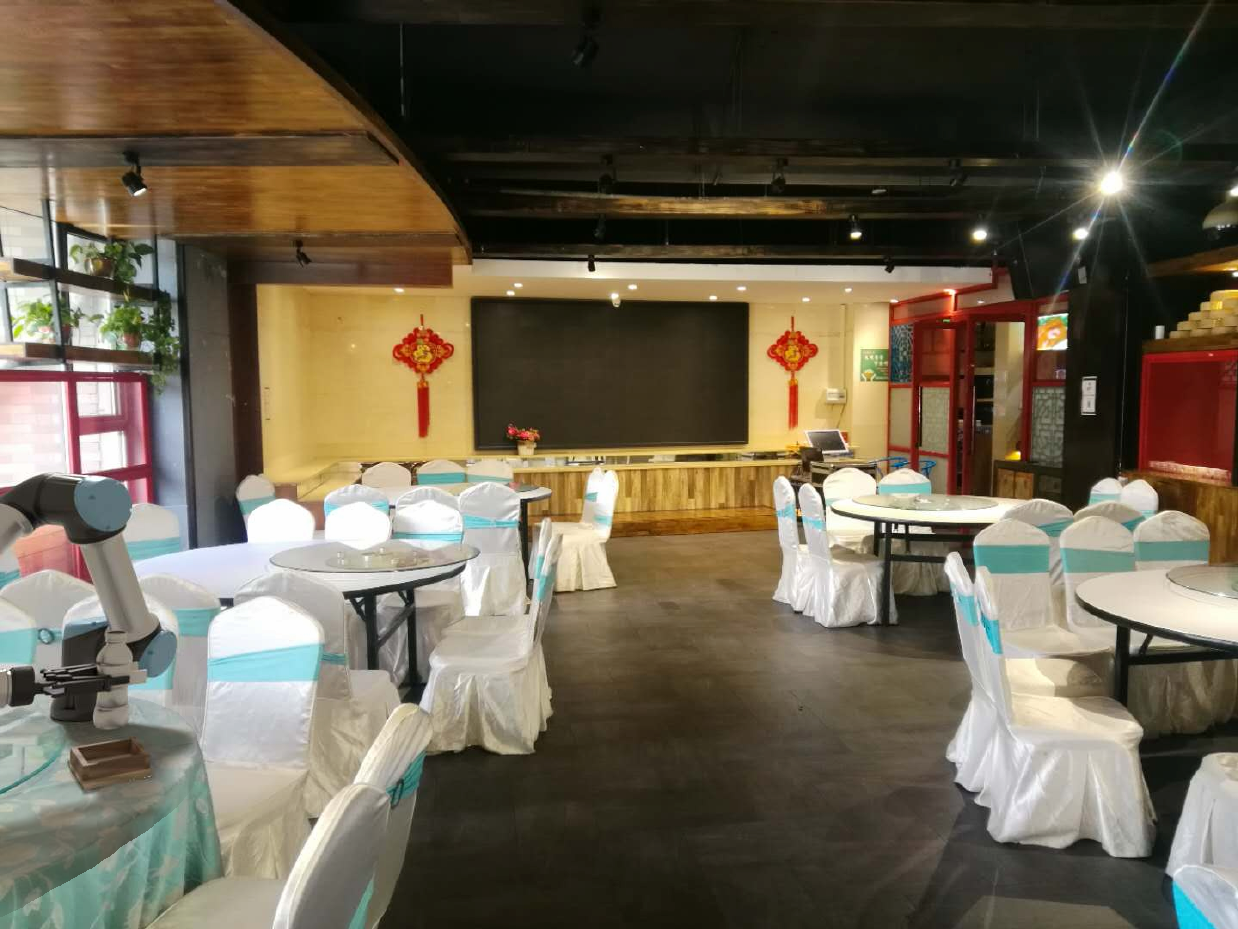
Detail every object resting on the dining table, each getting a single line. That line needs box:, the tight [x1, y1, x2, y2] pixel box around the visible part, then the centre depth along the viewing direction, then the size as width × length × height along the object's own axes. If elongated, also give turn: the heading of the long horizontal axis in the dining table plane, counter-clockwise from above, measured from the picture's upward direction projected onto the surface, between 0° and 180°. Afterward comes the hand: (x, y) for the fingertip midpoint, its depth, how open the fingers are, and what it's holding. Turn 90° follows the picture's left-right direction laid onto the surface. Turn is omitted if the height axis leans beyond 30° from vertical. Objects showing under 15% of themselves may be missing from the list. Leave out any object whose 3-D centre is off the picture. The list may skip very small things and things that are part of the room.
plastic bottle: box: [92, 631, 133, 730], centre depth 174 cm, size 6×7×20 cm
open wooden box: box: [67, 736, 153, 791], centre depth 174 cm, size 16×12×4 cm
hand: (141, 672), depth 177 cm, fingers closed on plastic bottle, 6 cm apart
